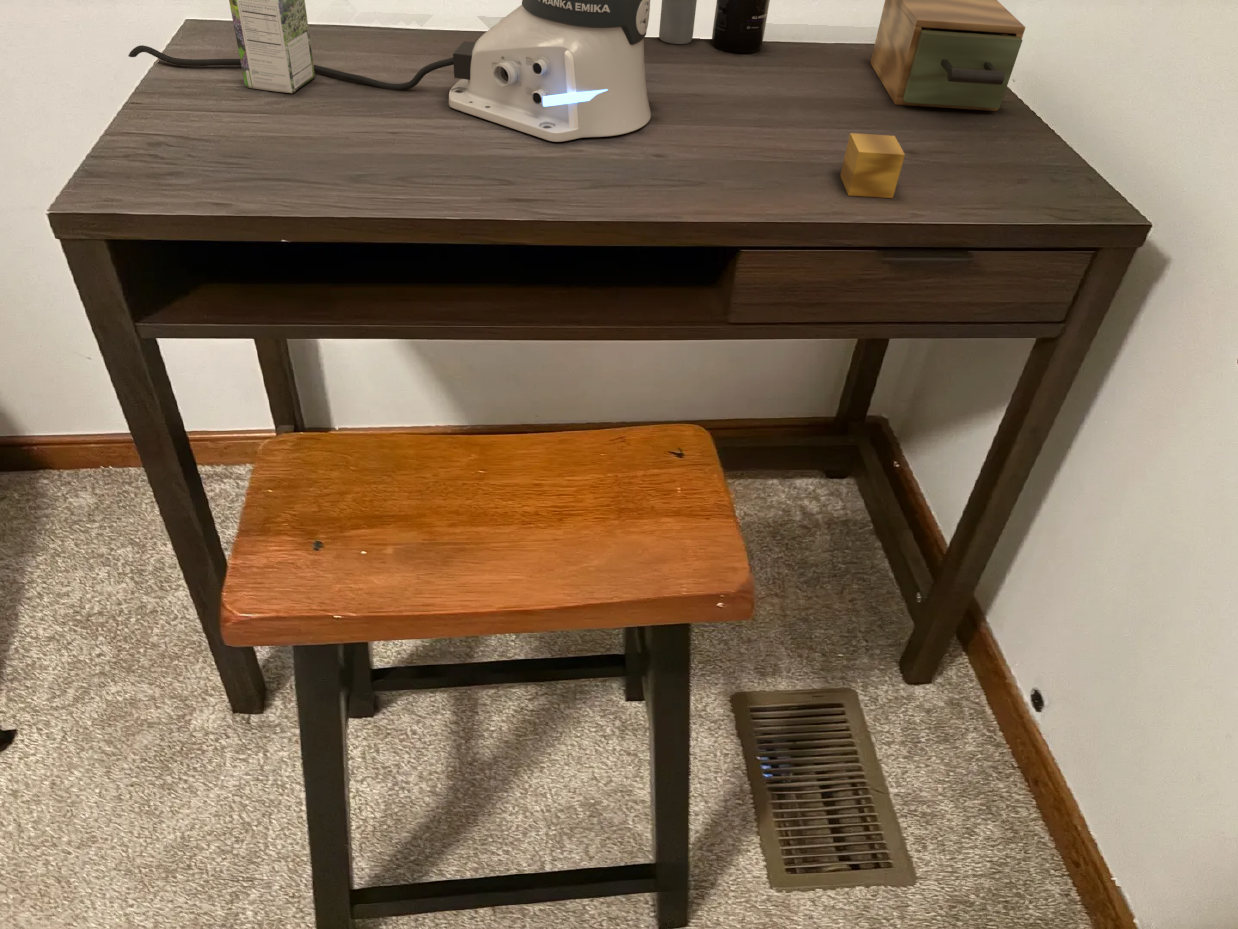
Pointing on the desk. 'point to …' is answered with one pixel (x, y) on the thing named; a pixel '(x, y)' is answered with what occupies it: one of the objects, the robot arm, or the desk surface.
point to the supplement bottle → (740, 25)
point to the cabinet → (930, 5)
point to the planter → (677, 21)
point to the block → (872, 165)
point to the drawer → (961, 68)
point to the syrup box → (273, 43)
